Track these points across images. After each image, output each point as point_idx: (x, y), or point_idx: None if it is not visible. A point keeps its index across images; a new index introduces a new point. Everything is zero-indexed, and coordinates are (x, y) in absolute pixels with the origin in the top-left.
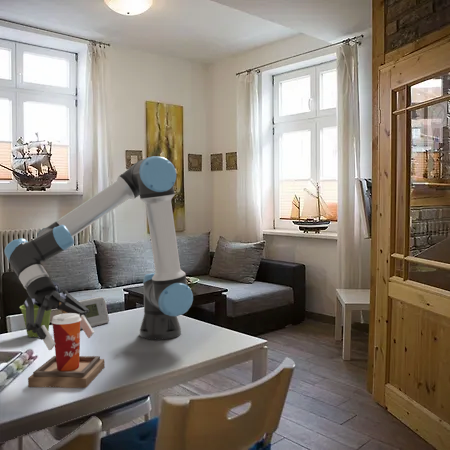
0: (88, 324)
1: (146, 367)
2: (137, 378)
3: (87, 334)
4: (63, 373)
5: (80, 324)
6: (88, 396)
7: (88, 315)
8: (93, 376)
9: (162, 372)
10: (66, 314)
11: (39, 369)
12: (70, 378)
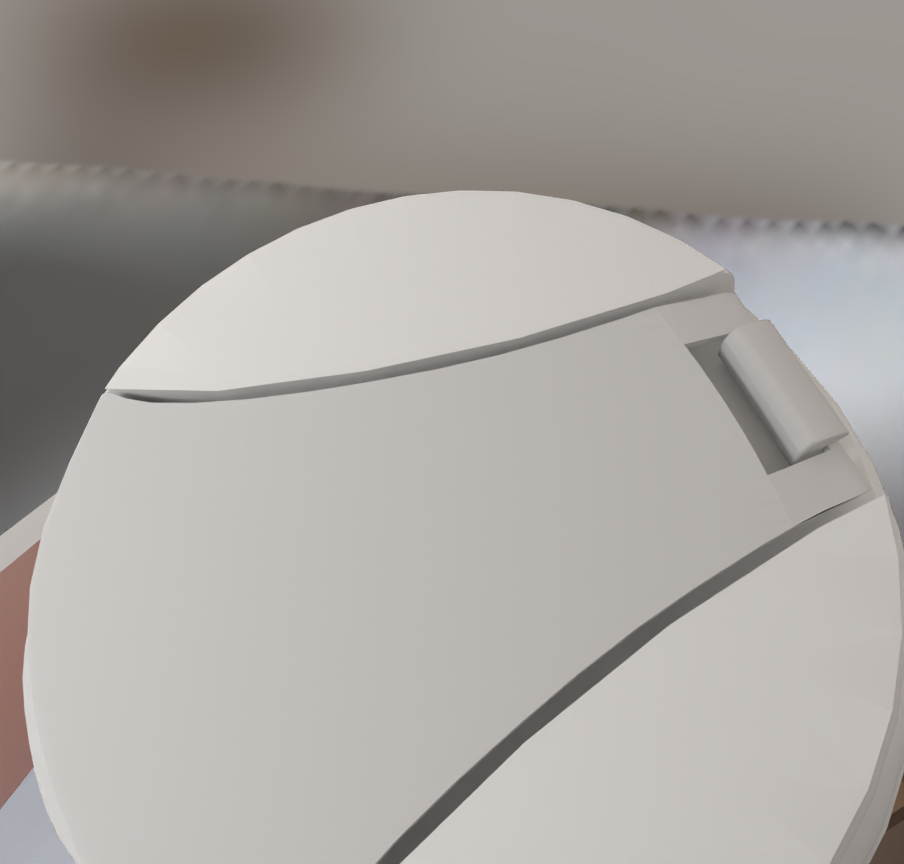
0: (14, 542)
1: (57, 340)
2: (271, 231)
3: None
4: None
5: (2, 783)
6: (710, 225)
7: None
8: None
9: (105, 194)
10: (266, 734)
11: (895, 842)
12: None
